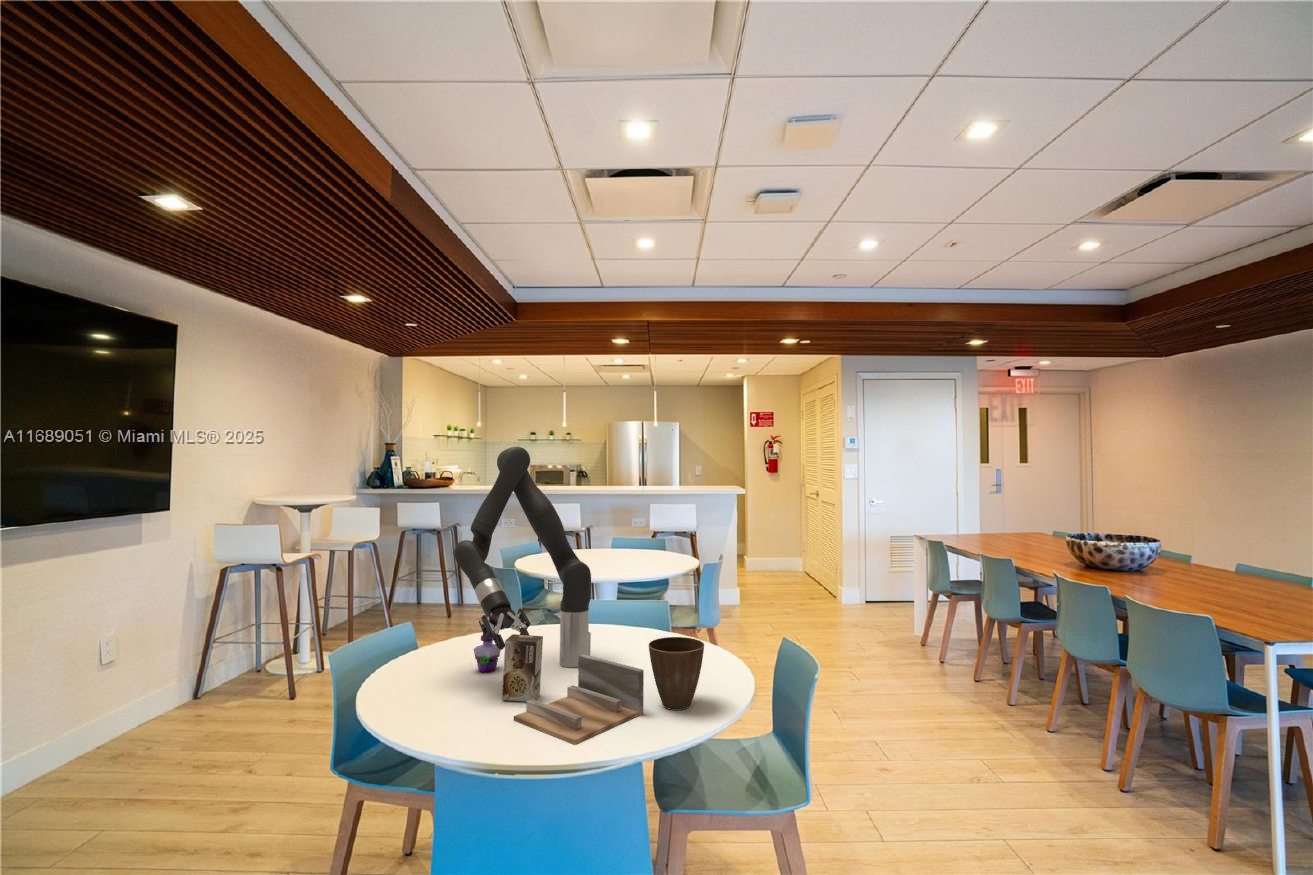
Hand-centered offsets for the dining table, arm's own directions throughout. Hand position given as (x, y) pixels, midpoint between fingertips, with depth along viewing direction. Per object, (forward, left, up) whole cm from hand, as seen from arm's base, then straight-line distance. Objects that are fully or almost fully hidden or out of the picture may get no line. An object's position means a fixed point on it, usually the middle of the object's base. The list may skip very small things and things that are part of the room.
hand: (515, 645), depth 170 cm
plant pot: (-23, +38, -14) cm, 47 cm away
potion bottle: (-9, -26, -14) cm, 31 cm away
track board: (-1, +24, -14) cm, 28 cm away
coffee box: (0, +2, -14) cm, 14 cm away
